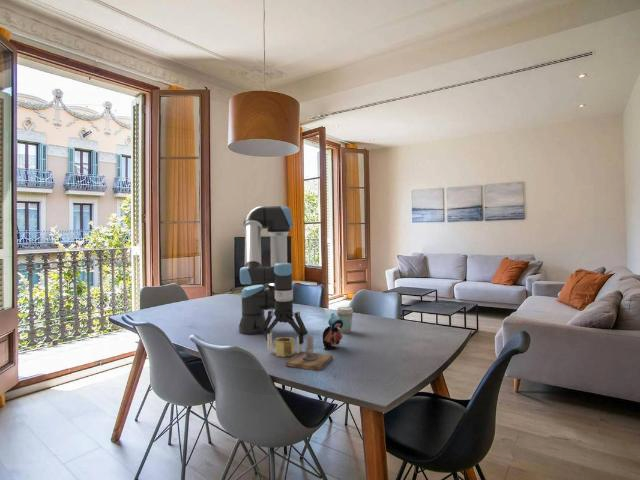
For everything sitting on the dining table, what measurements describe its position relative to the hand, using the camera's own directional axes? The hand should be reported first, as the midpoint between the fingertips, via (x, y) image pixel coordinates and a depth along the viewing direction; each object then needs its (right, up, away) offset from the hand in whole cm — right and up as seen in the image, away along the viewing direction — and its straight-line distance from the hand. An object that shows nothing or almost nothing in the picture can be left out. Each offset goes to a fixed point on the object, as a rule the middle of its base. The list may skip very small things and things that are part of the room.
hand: (284, 350), depth 156 cm
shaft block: (+11, -2, -10) cm, 15 cm away
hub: (0, -2, 0) cm, 2 cm away
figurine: (+21, -1, +7) cm, 22 cm away
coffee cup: (+28, -1, +34) cm, 44 cm away
